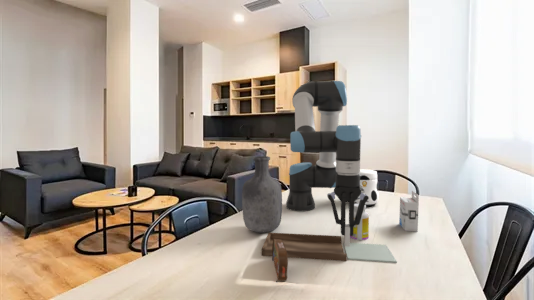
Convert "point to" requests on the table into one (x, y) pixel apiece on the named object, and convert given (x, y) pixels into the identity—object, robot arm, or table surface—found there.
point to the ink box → (409, 212)
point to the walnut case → (307, 246)
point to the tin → (280, 259)
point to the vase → (262, 199)
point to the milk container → (368, 186)
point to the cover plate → (369, 252)
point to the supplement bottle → (361, 225)
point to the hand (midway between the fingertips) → (346, 244)
